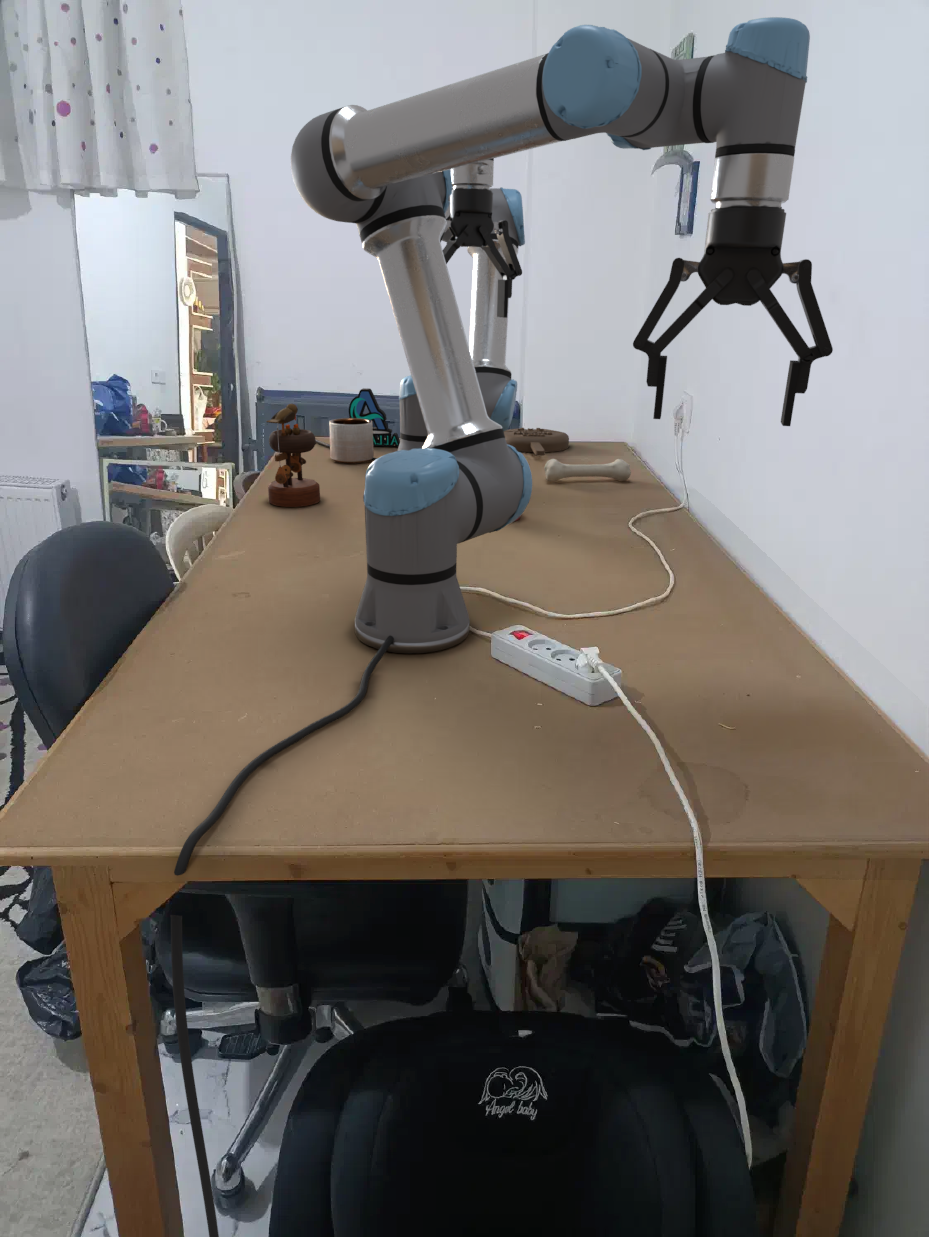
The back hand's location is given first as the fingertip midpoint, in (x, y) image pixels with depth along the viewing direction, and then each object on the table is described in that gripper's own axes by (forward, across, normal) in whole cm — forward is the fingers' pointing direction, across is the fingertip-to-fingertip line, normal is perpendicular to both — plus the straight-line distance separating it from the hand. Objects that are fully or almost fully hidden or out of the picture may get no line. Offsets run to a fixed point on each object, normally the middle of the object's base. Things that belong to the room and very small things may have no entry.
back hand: (469, 318), depth 156 cm
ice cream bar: (+38, +45, +49) cm, 76 cm away
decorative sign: (+38, +5, +72) cm, 82 cm away
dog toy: (+37, +38, +13) cm, 54 cm away
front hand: (+6, -7, -76) cm, 76 cm away
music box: (+37, -29, +22) cm, 52 cm away
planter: (+37, -5, +56) cm, 67 cm away
